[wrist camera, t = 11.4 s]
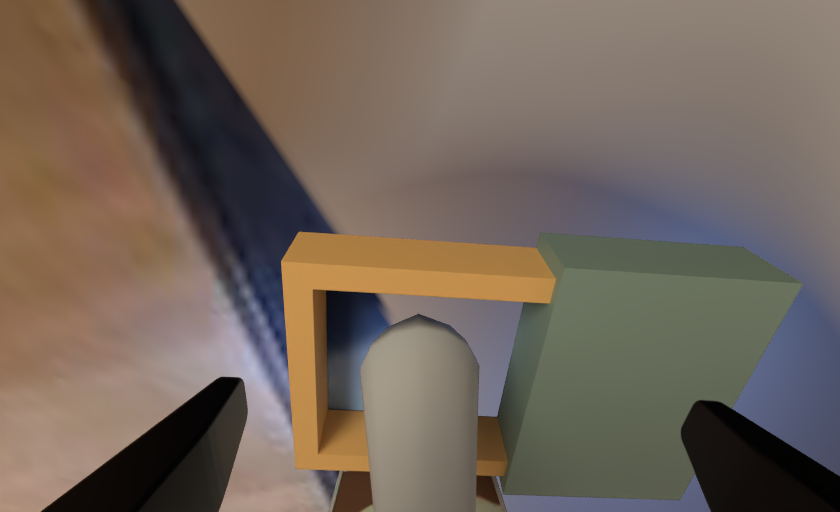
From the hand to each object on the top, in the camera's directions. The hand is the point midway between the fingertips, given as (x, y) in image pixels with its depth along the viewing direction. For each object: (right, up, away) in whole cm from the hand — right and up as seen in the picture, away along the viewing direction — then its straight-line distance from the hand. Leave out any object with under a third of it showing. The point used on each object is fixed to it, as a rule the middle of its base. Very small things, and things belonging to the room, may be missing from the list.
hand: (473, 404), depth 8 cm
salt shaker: (-1, -2, +14) cm, 14 cm away
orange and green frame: (+4, -2, +14) cm, 15 cm away
